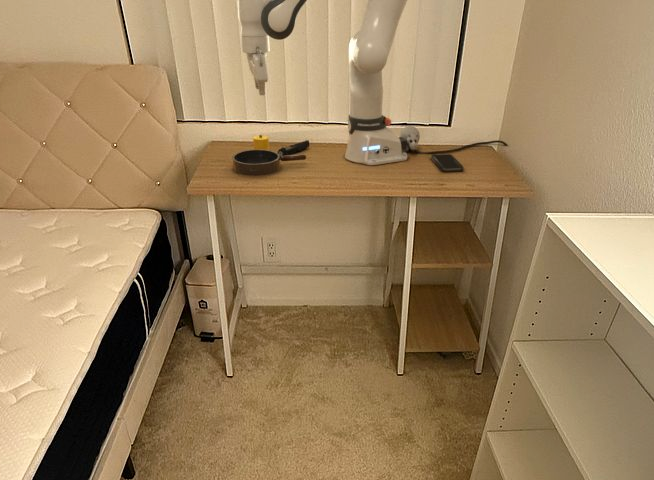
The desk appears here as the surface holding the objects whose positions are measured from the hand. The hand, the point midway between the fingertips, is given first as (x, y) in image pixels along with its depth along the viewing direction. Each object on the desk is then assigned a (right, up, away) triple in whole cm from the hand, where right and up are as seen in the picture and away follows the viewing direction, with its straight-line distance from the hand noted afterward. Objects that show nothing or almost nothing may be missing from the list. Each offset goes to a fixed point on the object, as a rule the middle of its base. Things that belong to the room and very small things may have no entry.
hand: (260, 91), depth 188 cm
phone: (+64, -22, +7) cm, 68 cm away
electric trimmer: (+10, -15, +14) cm, 23 cm away
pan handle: (+11, -23, +2) cm, 25 cm away
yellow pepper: (-2, -16, +13) cm, 21 cm away
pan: (-1, -26, 0) cm, 26 cm away
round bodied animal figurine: (+52, -14, +17) cm, 57 cm away
